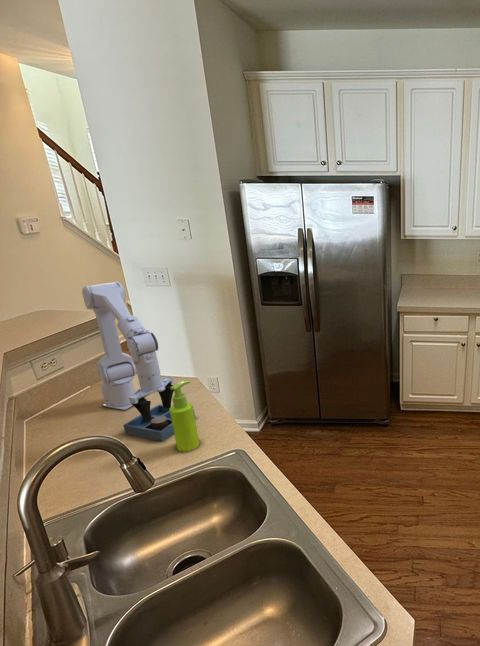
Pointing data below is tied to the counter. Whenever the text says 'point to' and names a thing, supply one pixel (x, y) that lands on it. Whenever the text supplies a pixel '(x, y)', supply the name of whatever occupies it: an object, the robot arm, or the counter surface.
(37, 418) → the counter surface
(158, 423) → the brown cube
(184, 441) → the soap dispenser
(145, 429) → the grid
